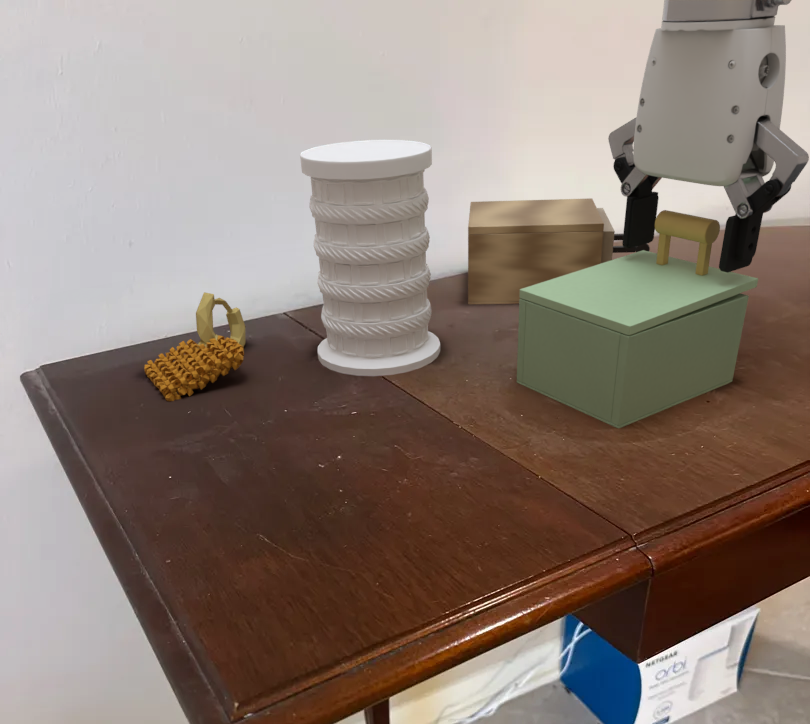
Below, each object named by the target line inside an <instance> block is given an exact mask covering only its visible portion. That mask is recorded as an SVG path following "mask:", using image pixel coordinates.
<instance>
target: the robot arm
mask: <svg viewBox="0 0 810 724" xmlns="http://www.w3.org/2000/svg"><path fill="white" fill-rule="evenodd" d="M791 2H792V0H663V9H662V18H661V25H660V26H661V27H660V28H656V29H655V31H654V35H653V37H652V41H651V44H650V49H649V53H648V56H647V59H646V63H645V68H644V73H643V77H642V82H641V88H640V92H639V99H638V105H637V112H636V117H634V118H632V119H631V120H630V121H628V122H626V123H624V124H622V125H621V126H619V127H618V128H616V129H614V130H613V131H611V132H609V135H608V138H607V139H608V144H609V148H610V152H611V156H612V159H613V160H614V161H613V164H612V165H613V166H612V167H613V171H614V173H615V174H616V176H617V178H618V180H619V182H620V183H621V184H620V193H621V195H622V196H623V197H626V205H625V215H624V216H625V217H624V225H623V232H622V234H623V240H622V245H621V246H623V247H626V248H632V247H636V246H640V245H643V244H647V243H648V244H650V243H651V242H653V241H654V238H655V232H656V230H655V220H656V217H657V216H658V207H659V192H658V191H653V189H654V188H655V187H656V186H657V185H658V183H659V182H660V181H661V180H662V178H663V179H668V180H674V181H678V182H679V181H680V182H686V183H693V184H699V185H705V186H713V187H723V189H724V191H725V193H726V195H727V197H728V200H729V201H730V204H731V206H732V208H733V211H734V213H735V214H734V215H731V216H728V217H727V219H726V222H725V227H724V233H723V239H722V245H721V250H720V256H719V264H718V269H720V270H721V271H723V272H727V273H728V272H734V271H737V270H741V269H743V268H747V267H749V266H750V265H751V264H752V261H753V258H754V256H755V254H756V253H757V248H758V243H759V238H760V232H761V227H762V222H763V217H764V214H765V213H768V212H770V211H771V210H772V208H773V206H774V205H775V204H776V203H777V202H779V201H780V200H781V199H783V198H784V197H785V196H786V195H787V194H789V193H790V191H791V189H792V185H793V183H795V182H796V180H797V179H798V177H799V176H800V174H801V173H802V172H803V170H804V169H805V167H806V166H807V164H808V162H809V160H810V156H809V153H808V152H807V151H806V150H805V149H804V148H802V147H801V146H800V145H799V144H798V143H797V142H795V140H793V139H792V138H791V137H789V136H788V135H787V134H786V133H785V132H784V131H783V130H781V122H782V114H783V105H784V97H785V86H786V85H785V84H786V66H787V43H786V42H787V41H786V39H787V38H786V26H785V24H775V22H776V16H777V15H778V10H779V7H780V6H788V5H789V4H790V3H791ZM774 164H775V168H774V170H773V172H772V173H771V171H772V169H773V167H774ZM770 173H771V174H772V175H771V176H770V178H769V180H766V181H765V180H764V177H766V176H767V175H769V174H770Z"/></svg>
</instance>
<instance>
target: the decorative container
mask: <svg viewBox="0 0 810 724" xmlns="http://www.w3.org/2000/svg"><path fill="white" fill-rule="evenodd" d="M432 155H433V153H432V146H431V144H428V143H427V142H423V141H418V140H409V139H408V140H407V139H366V140H365V139H364V140H351V141H341V142H334V143H328V144H322V145H317V146H314V147H310V148H308V149H305V150H303V151H301V152H300V155H299V157H300V166H301V167H300V168H301V173H302V174H304V175H305V176H307V177H310V185H311V193H312V194H311V195H310V199H309V210H310V213H311V216H312V218H314V225H315V234H314V240H313V248H314V251H315V255H316V256H317V257H318V263H319V271H318V275H317V286H318V288H319V292H320V293H321V294H322V301H323V302H322V303H323V305H322V306H321V314H320V318H321V319H320V320H321V322H322V325H323V327H324V328H325V331H326V337H325V338H324V339H323V340H322V341H320V343H319V345H318V346H317V359H318V361H319V362H320V364H321V365H322V366H323V367H324V368H326V369H329V370H330V371H332V372H336V373H338V374H344V375H350V376H356V377H381V376H393V375H399V374H404V373H409V372H412V371H415V370H418V369H419V370H420V369H421V368H423V367H425V366H427V365H429V364H431V363H432V362H434V361H436V359H438V357H439V355H440V353H441V342H440V338H439V337H438V336H437V335H436V334H435V333H433V332H431V331H429V323H430V321H431V319H432V317H431V316H432V314H433V313H432V311H433V309H432V304H431V302H430V299H429V298H428V288H429V286H430V284H431V280H432V279H431V277H432V274H431V270H430V267H429V265H428V263H427V251H428V249H429V247H430V246H429V244H430V241H431V240H430V238H431V237H430V233H429V230H428V228H427V227H428V226H426V219H425V218H426V216H425V215H426V214H425V213H426V211H427V210H428V205H429V194H428V191H427V189H426V188H425V184H424V181H425V180H424V172H425V170H427V169H429V168H430V167H431V166H432V165H433V156H432Z"/></svg>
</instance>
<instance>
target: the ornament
mask: <svg viewBox="0 0 810 724" xmlns="http://www.w3.org/2000/svg"><path fill="white" fill-rule="evenodd" d="M216 305H218V306H219V305H220V306H223V308H224V309H225V310H226V314H225V316H226V320H227V324H228V327H229V332H230V337H228V336H226V337H225V336H223V335H219V334H217V333H215V331H214V316H213V314H214V313H213V311H214V308H215V306H216ZM195 322H196V333H197V334H198V337H199V339H200V340H199V341H198V342H196V341H194V340H193V339H191V338H189V339H188V340H187V341H186V342H185V340H182V341H180V342H179V343H178V345H177V346H176V349H175V348H174V346H172V347H171V348H170V349H169V350H168V351H169V352H165V354H164V353H159V354H157V356H158V358H155V360H154V362H153V360H152V359H149V360H147V364H144V368H143V370H144V374H145V376H147V378H148V379H150V381H151V383H152V384H153V385H154V387H156V388H157V389H158V391H159V393H161V394H162V395H163V397H164V399H165V401H167V402H174V401H175V400H182V397H181V396H185V395H188V397H191V396H192V395H193V394H194V393H195V392H194V391H195V390H199V389H200V390H203V389H204V388H205V387H207V385H208V383H209V382H211V383H212V384H214V383H215V382H217V380H218V378H219V377H220V375H221V376H222V377H225V376H226V375H228V374H229V372H230V370H231V369H233V370H234V371H236V370H238V369H239V368H240V366H242V364H243V363H244V356H245V349H244V347H245V345H246V324H245V321H244V317H243V315H242V312H241V309H240V308H239V307H237V306H236V307H234V308H232V307H231V306H230V304H229V303H228V302H227V301H226V300H225V299H223V298H221V297H217V298H215V294H214V293H209V292H203V294H202V297H201V298H200V302H199V304H198V306H197V308H196V312H195Z"/></svg>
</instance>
